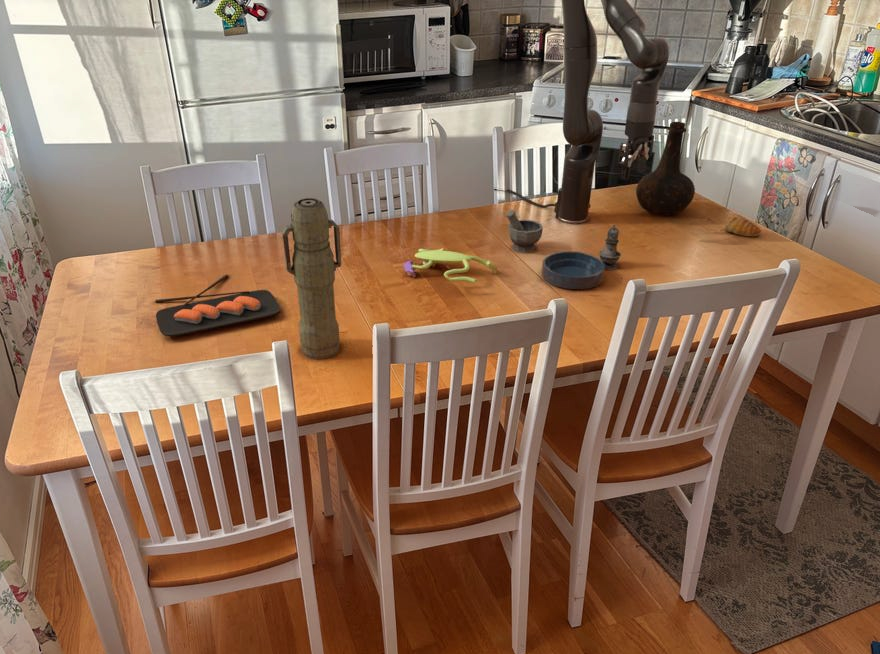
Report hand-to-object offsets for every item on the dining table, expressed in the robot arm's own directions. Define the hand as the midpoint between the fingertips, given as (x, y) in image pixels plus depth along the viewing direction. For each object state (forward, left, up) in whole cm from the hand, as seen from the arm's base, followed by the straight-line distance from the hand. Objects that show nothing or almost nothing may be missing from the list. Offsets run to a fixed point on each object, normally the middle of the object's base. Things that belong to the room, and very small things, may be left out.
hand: (632, 175), depth 208 cm
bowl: (+2, -33, -19) cm, 39 cm away
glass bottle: (0, +28, -19) cm, 34 cm away
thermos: (-24, -103, -19) cm, 107 cm away
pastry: (+26, +26, -19) cm, 42 cm away
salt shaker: (+6, -21, -19) cm, 29 cm away
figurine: (-25, -53, -19) cm, 61 cm away
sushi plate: (-61, -105, -19) cm, 123 cm away
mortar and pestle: (-19, -26, -19) cm, 37 cm away
